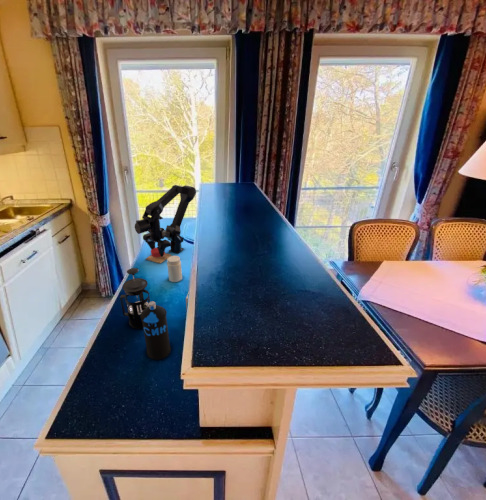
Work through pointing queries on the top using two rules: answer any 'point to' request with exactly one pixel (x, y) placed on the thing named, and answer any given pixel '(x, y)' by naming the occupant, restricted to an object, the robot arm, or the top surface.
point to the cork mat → (158, 258)
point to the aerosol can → (156, 331)
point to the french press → (135, 289)
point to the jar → (174, 268)
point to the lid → (155, 252)
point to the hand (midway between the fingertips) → (158, 254)
